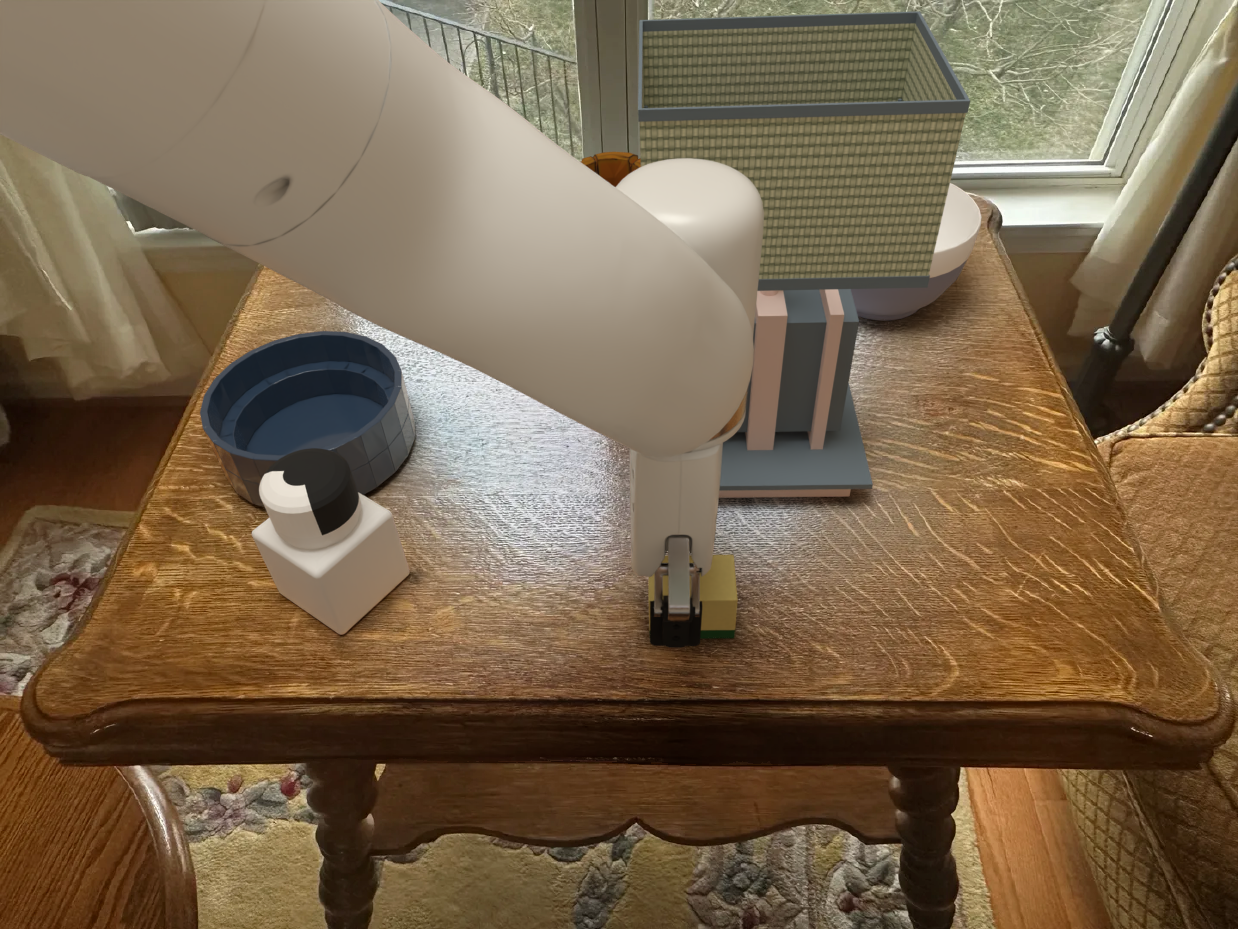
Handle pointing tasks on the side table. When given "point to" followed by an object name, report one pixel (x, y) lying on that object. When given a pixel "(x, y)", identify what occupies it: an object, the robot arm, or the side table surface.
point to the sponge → (712, 597)
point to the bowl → (945, 268)
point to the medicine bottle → (327, 539)
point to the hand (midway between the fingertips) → (673, 583)
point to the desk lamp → (810, 203)
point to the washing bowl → (310, 408)
